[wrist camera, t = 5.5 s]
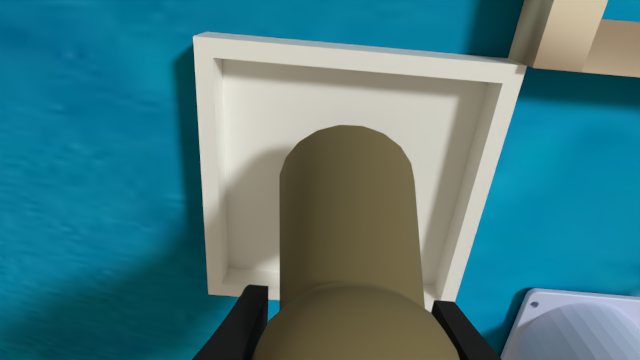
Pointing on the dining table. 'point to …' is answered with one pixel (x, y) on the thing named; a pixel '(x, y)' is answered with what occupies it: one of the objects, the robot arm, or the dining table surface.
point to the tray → (344, 109)
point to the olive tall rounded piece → (350, 255)
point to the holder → (575, 38)
